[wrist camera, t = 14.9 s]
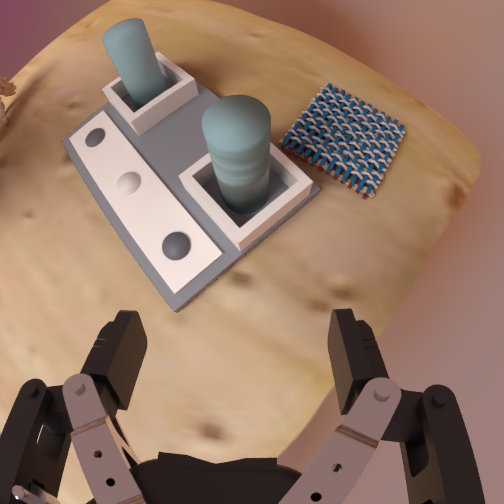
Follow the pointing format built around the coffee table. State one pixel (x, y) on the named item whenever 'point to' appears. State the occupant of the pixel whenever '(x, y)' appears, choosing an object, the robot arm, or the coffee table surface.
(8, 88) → the unicorn figurine
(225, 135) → the teal peg
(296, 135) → the woven mat
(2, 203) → the coffee table surface
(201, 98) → the peg board
